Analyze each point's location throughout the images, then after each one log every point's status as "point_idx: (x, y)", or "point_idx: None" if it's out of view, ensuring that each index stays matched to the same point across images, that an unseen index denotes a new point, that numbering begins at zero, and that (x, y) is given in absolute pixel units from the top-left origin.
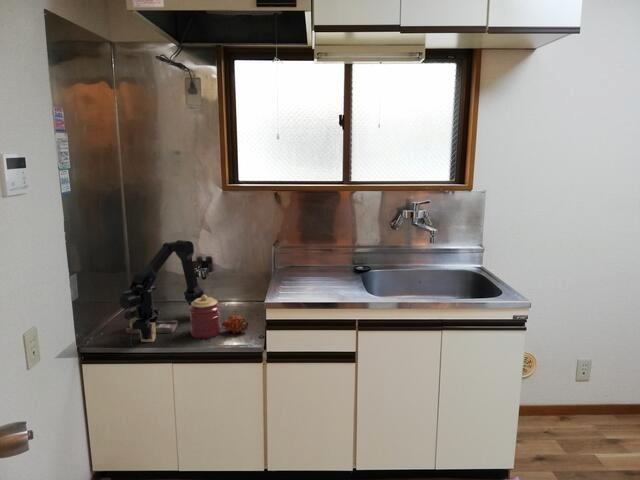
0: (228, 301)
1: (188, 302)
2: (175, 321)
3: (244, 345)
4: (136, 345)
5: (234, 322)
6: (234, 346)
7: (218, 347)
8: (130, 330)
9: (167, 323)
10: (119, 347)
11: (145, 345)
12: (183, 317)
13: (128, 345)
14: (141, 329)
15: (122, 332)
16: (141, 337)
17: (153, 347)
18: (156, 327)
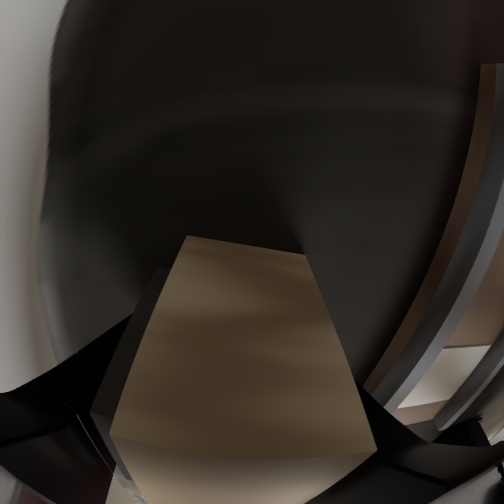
0: (490, 439)
1: (500, 468)
2: (442, 425)
3: (141, 500)
4: (93, 199)
5: None
6: (133, 494)
7: (120, 482)
8: (500, 104)
9: (468, 382)
10: (80, 26)
11: (93, 289)
12: (495, 391)
13: (105, 103)
14: (26, 404)
15: (501, 42)
16: (151, 279)
17: (67, 343)
18: (425, 371)
